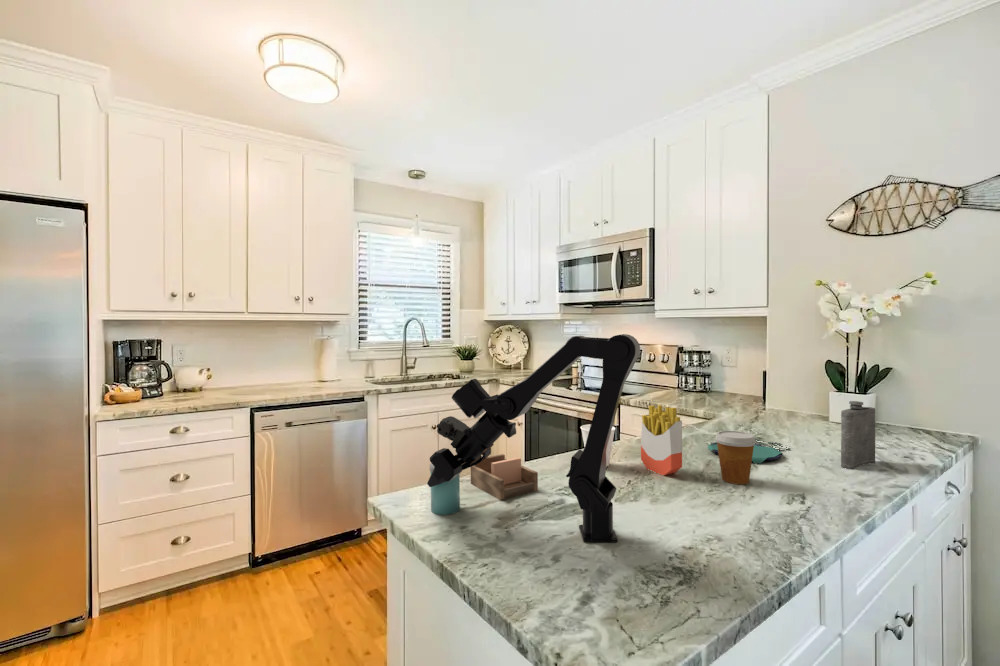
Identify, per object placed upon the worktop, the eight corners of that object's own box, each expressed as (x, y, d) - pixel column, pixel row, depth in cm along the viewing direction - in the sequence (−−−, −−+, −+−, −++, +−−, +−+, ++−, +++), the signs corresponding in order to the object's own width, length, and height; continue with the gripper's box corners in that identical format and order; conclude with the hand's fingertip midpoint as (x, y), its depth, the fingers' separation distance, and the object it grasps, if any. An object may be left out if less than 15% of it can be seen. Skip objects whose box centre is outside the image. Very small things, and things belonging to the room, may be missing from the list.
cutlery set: (696, 453, 148) (696, 445, 148) (744, 440, 166) (744, 433, 166) (761, 469, 132) (762, 461, 132) (807, 453, 150) (807, 446, 150)
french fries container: (670, 478, 124) (669, 410, 123) (639, 468, 133) (639, 404, 133) (682, 476, 126) (682, 409, 125) (651, 465, 135) (651, 403, 135)
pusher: (521, 480, 119) (521, 458, 119) (493, 487, 115) (493, 464, 115) (518, 479, 120) (518, 457, 120) (491, 485, 116) (491, 462, 116)
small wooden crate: (537, 490, 116) (537, 466, 116) (500, 500, 110) (500, 474, 110) (506, 475, 128) (505, 453, 128) (470, 483, 122) (470, 460, 122)
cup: (616, 471, 130) (616, 432, 130) (580, 469, 132) (579, 430, 132) (615, 461, 140) (614, 424, 140) (581, 459, 142) (581, 423, 142)
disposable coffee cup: (713, 483, 120) (713, 436, 120) (716, 472, 128) (716, 428, 128) (756, 489, 115) (756, 440, 115) (755, 477, 124) (755, 432, 124)
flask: (835, 466, 133) (835, 402, 133) (862, 459, 139) (863, 398, 139) (850, 469, 130) (850, 404, 129) (877, 462, 136) (877, 400, 136)
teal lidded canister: (458, 515, 101) (458, 469, 101) (427, 515, 102) (426, 469, 101) (462, 503, 108) (461, 460, 108) (432, 503, 108) (432, 460, 108)
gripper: (478, 399, 111) (439, 441, 116) (437, 413, 94) (392, 462, 99) (509, 435, 108) (467, 477, 113) (472, 456, 91) (425, 504, 96)
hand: (439, 478), depth 105 cm, fingers open, 9 cm apart
